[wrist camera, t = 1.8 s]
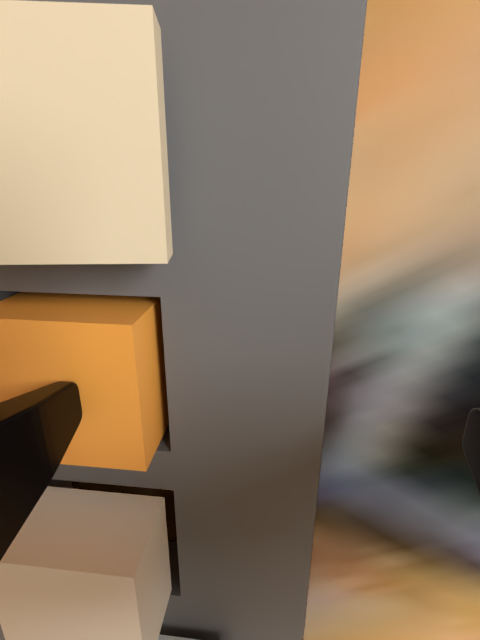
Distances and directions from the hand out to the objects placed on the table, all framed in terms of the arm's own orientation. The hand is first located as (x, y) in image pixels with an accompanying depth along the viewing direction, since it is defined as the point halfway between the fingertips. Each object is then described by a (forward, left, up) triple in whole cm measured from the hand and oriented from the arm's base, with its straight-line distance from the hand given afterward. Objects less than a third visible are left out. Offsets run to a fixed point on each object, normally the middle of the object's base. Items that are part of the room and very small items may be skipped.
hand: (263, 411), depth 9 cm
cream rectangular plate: (+5, -5, +1) cm, 7 cm away
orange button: (+5, 0, -3) cm, 6 cm away
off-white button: (+5, +6, -1) cm, 8 cm away
